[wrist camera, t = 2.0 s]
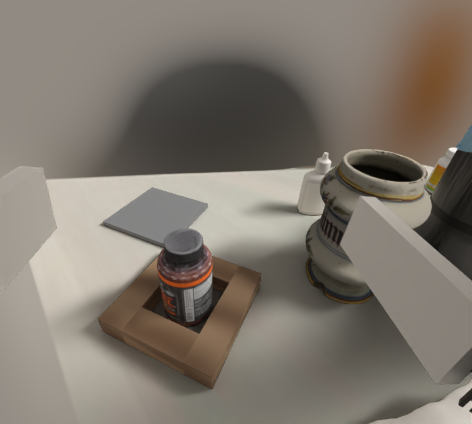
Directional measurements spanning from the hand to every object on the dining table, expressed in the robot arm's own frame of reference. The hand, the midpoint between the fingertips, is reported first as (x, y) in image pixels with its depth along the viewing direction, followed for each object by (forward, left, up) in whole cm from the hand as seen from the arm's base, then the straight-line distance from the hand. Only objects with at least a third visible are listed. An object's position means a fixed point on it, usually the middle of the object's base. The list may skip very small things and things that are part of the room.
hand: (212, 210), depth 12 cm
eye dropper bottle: (-38, +2, -23) cm, 44 cm away
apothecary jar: (-23, +9, -23) cm, 34 cm away
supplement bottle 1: (-9, -8, -23) cm, 26 cm away
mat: (-23, -23, -23) cm, 39 cm away
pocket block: (-9, -8, -23) cm, 26 cm away
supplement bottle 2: (-60, +27, -23) cm, 69 cm away
